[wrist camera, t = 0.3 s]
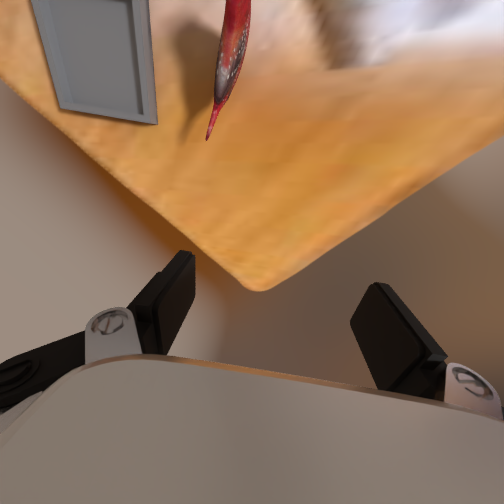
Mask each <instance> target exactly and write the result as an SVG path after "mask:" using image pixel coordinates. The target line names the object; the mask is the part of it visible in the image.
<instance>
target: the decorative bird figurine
mask: <svg viewBox="0 0 504 504" xmlns="http://www.w3.org/2000/svg"><path fill="white" fill-rule="evenodd" d="M250 17H251V0H226V6H225V15H224V22H223V27H222V33H221V39H220V45H219V51H218V58H217V65H216V74H215V85H214V106H213V111H212V115H211V119H210V122H209V126H208V131H207V135H206V141H207V140H208V138H209V136H210V133H211V131H212V129H213V126H214V123H215V121H216V119H217V116H218V114H219V112H220V110H221V108H222V107H223V105H224V104H225V103H226V101H227V100H228V98H229V96H230V94H231V92H232V89H233V87H234V85H235V83H236V81H237V78H238V76H239V73H240V70H241V67H242V63H243V60H244V56H245V51H246V47H247V41H248V36H249V28H250Z"/></svg>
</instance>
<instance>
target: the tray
mask: <svg viewBox="0 0 504 504" xmlns="http://www.w3.org/2000/svg"><path fill="white" fill-rule="evenodd" d="M31 2H32V6H33V10H34V13H35V17H36V21H37V24H38V28H39V32H40V35H41V39H42V43H43V46H44V50H45V54H46V57H47V61H48V65H49V68H50V72H51V76H52V79H53V83H54V87H55V90H56V94H57V98H58V101H59V105H60V108H62V109H68V110H74V111H80V112H86V113H92V114H98V115H104V116H110V117H115V118H121V119H127V120H133V121H139V122H145V123H151V124H157V125H158V119H157V106H156V92H155V79H154V66H153V53H152V40H151V26H150V13H149V0H31Z"/></svg>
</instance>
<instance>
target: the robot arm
mask: <svg viewBox="0 0 504 504" xmlns="http://www.w3.org/2000/svg"><path fill="white" fill-rule="evenodd" d="M194 298H195V255H192V252H190V251H184V250H180V251H179V252H178V253H177V254H176V255H175V256H174V258H173V259H172V260H171V261H170V262H169V263H168V265H167V266H166V267H165V268H164V269H163V270H162V272H158V273H156V275H155V276H154V277H153V278H152V279H151V280H150V281H149V283H148V284H147V285H146V286H145V287H144V288H143V289H142V290H141V292H140V293H139V294H138V295H137V296H136V297H135V298H134V300H133V301H132V302H131V303H130V304H129V305H128V307H126V308H123V307H115V308H110V309H107V310H104V311H102V312H100V313H98V314H96V315H95V316H94V317H93V318H91V319H90V321H89V322H88V323H87V325H86V329H85V331H82V332H79V333H77V334H74V335H71V336H68V337H66V338H63V339H60V340H58V341H55V342H52V343H50V344H47V345H44V346H41V347H39V348H36V349H33V350H31V351H28V352H25V353H22V354H20V355H17V356H15V357H12V358H10V359H8V360H6V361H4V362H3V363H1V364H0V504H504V407H502V406H501V403H500V399H499V396H498V394H497V392H496V391H495V390H494V388H493V387H492V386H491V385H490V384H489V383H488V382H487V381H486V380H485V379H484V378H483V377H481V376H480V375H479V374H477V373H476V372H474V371H473V370H471V369H469V368H468V367H465V366H464V365H460V364H458V363H450V364H448V365H446V363H445V362H444V360H445V359H446V358H447V357H448V356H447V354H446V353H445V352H444V351H443V350H442V348H441V347H440V346H439V345H438V344H437V342H436V341H435V340H434V339H433V337H432V336H431V335H430V334H429V333H428V332H427V330H426V329H425V328H424V327H423V325H422V324H421V323H420V322H419V321H418V319H417V318H416V317H415V316H414V314H413V313H412V312H411V311H410V310H409V309H408V307H407V306H406V305H405V304H404V302H403V301H402V300H401V299H400V298H399V296H398V295H397V294H396V293H395V292H394V290H393V289H392V288H391V287H390V286H389V285H388V284H385V283H379V282H375V283H373V284H371V285H370V286H369V287H368V289H367V291H366V293H365V294H364V296H363V298H362V300H361V302H360V304H359V305H358V307H357V309H356V311H355V313H354V314H353V316H352V318H351V320H350V325H351V328H352V330H353V333H354V335H355V337H356V340H357V342H358V344H359V347H360V349H361V351H362V354H363V356H364V358H365V361H366V363H367V365H368V368H369V370H370V372H371V374H372V377H373V379H374V381H375V384H376V386H377V388H378V389H372V388H366V387H360V386H355V385H349V384H343V383H337V382H331V381H325V380H319V379H313V378H308V377H302V376H295V375H289V374H284V373H278V372H272V371H266V370H260V369H254V368H247V367H241V366H235V365H228V364H223V363H217V362H210V361H204V360H197V359H190V358H183V357H176V356H167V353H168V351H169V350H170V347H171V345H172V343H173V341H174V339H175V337H176V335H177V333H178V331H179V329H180V327H181V325H182V323H183V321H184V319H185V317H186V315H187V313H188V311H189V309H190V307H191V305H192V303H193V301H194Z"/></svg>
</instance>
